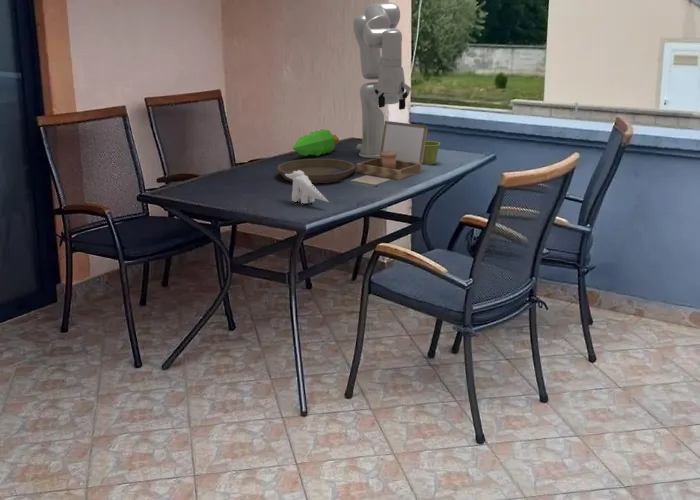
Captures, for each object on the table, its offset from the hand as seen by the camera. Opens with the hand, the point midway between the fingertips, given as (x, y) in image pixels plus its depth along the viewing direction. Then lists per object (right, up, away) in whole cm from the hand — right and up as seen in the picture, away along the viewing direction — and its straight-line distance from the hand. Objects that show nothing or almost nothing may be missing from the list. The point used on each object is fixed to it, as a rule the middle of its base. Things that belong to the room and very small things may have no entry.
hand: (391, 108), depth 341 cm
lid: (+5, -12, +11) cm, 17 cm away
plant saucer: (-30, -26, +8) cm, 40 cm away
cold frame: (-1, -25, +8) cm, 27 cm away
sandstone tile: (-8, -29, -3) cm, 30 cm away
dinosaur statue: (-31, -39, -32) cm, 59 cm away
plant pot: (+17, -19, +26) cm, 37 cm away
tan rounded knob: (-1, -24, +8) cm, 26 cm away
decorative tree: (-32, -14, +45) cm, 57 cm away
